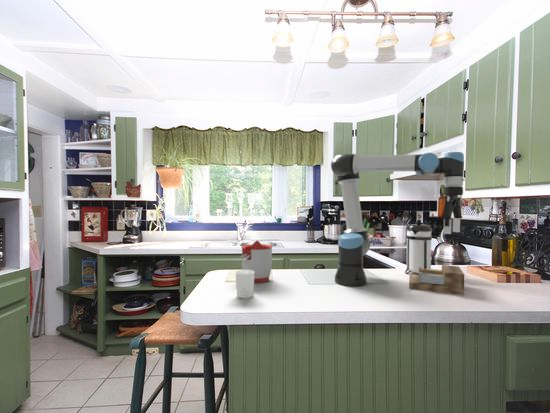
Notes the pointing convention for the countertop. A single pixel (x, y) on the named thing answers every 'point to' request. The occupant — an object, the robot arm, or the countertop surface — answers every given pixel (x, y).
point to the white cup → (245, 283)
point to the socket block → (452, 281)
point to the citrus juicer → (257, 260)
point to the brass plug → (431, 271)
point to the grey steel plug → (431, 278)
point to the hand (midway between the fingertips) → (451, 232)
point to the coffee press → (418, 247)
